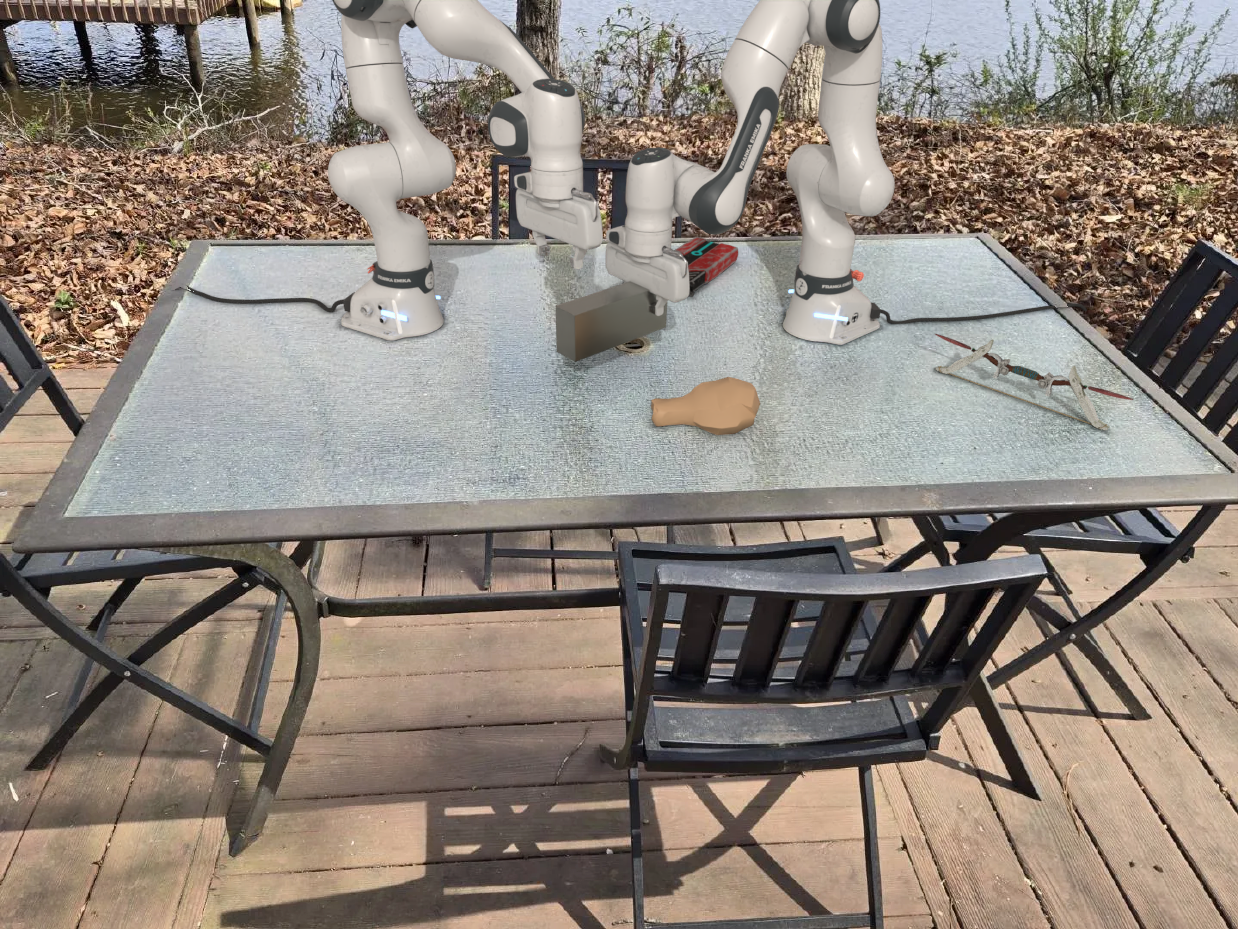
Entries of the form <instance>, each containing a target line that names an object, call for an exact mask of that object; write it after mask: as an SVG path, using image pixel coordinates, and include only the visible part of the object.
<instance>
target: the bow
mask: <svg viewBox="0 0 1238 929" xmlns="http://www.w3.org/2000/svg"><path fill="white" fill-rule="evenodd" d="M934 336H937V337H938V338H940V339H942V340H943V341H946V342H948V343H950V344H953V345H955V346H957V347H960V348H963V349H966V350H970V351H971V352H972V354H970V355H966V356H963V357H962V358H960V359H958V360H956V361H954V362H953V363H952V364H951V365H949V366H942V365H938V366H937V367H935V370H936V371H937V372H939V373H941V374H945V375H946V374H947V375H950V376H953V377H956V378H958V379H962V380H964V381H967V382H970V383H973V384H975V385H979V386H981V387H984V388H987V389H990V390H992V391H996V392H998V393H1000V394H1003V395H1007V396H1010V397H1013V398H1015V399H1018V400H1021V401H1023V402H1026V403H1028V404H1032V405H1035V406H1037V407H1040V408H1044V409H1047V410H1049V411H1052V412H1054V413H1057V414H1060V415H1063V416H1066V417H1069V418H1070V419H1071V418H1072V419H1075V420H1077V421H1080V422H1083V423H1086V424H1089V425H1092V426H1093V427H1095V428H1097V429H1098V430H1101V431H1102V430H1103V431H1108V430H1109V429H1110V428H1111V427H1110V425H1108V424H1107V423H1105V422H1104V421H1102V420H1101V419H1099V418H1098V414H1097V410H1096V408H1095V406H1094V404H1093V403H1092V401H1091V398H1089V396H1087V394H1086V392H1085V390H1087V389H1088V390H1090V391H1092V392H1095V393H1098V394H1102V395H1105V396H1107V397H1108V396H1109V397H1112V398H1117V399H1122V400H1127V401H1128V400H1129V401H1134V399H1135V398H1132V397H1130V396H1126V395H1123V394H1120V393H1118V392H1114V391H1112V390H1111V391H1110V390H1107V389H1104V388H1099V387H1096V386H1091V385H1089V386H1088V385H1087V384H1083V382H1082V378H1081V377H1080V375H1079V373H1078V370H1077V367H1076V365H1073V366H1072V367H1071V368H1070V371H1069V374H1068V378H1067V377H1066V376H1064V375H1062V374H1061V375H1060V374H1059V375H1054V374H1053V373H1052V372H1050V371H1049V372H1047V373H1046V374H1045V375H1041V374H1040V373H1039V372H1038V371H1036V370H1034V369H1031V368H1027V367H1025V366H1022V365H1012V364H1010V363H1011V359H1010V358H1008V359H1007V358H1004V359H1003V357H1001V356H1000V355H999V354H997V353H994V352H990V350H992V348H993V346H994V343H995V342H994V341H995V340H994V339H990V340H989V342H987V343H986V344H984V345H981V346H980V347H979V348H977V349H976V348H974V347H971V346H970V345H967V344H965V343H963V342H962V341H959V340H956V339H953V338H950V337H947V336H945V335H943V334H939V333H934ZM982 359H986V360H988V361H989V363H990V364H992V365H994V366H995V367H996V370H995V371H994V372H993V375H992V378H994V379H996V380H997V379H998V378H999V376H1000V375H1002V376H1007V375H1008V374H1009V373H1013V374H1015V375H1018V376H1021V377H1024V378H1027V379H1029V380H1032V381H1037V386H1038V388H1040V389H1046V390H1045V391H1044V392H1045V394H1044V396H1046V397H1051V395H1052V391H1053V387H1054V386H1055V387H1062V386H1063V387H1065V386H1068V387H1069V388H1070V389H1071V391H1072V392H1073V394H1074V395H1075V397H1076V399H1077V401H1078V403H1079V405H1080V408H1081V409H1082V411H1083V413H1084V415H1085V417H1086V418H1087V420H1088V421H1089V422H1088V421H1086V420H1083V419H1081V418H1078V417H1075V416H1071V415H1069V414H1066V413H1063V412H1060V411H1057V410H1055V409H1052V408H1049V407H1046V406H1043V405H1041V404H1037V403H1035V402H1032V401H1029V400H1026V399H1023V398H1020V397H1017V396H1015V395H1013V394H1009V393H1007V392H1005V391H1001V390H998V389H995V388H993V387H990V386H987V385H984V384H981V383H979V382H977V381H976V382H975V381H973V380H970V379H967V378H964V377H961V376H958V375H956V374H953V373H955V372H956V371H958V372H959V371H960V370H962V369H963V368H965V367H967V366H969V365H971V364H973V363H975V362H977V361H980V360H982Z"/></svg>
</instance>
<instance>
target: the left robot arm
mask: <svg viewBox="0 0 1238 929" xmlns="http://www.w3.org/2000/svg"><path fill="white" fill-rule="evenodd" d="M331 1H332V3H333V5H334V7H335V9H336V10H337V12H338V13H340V14H341V19H340V20H341V21H340V26H341V28H340V29H341V30H340V31H341V32H340V34H341V46H342V47H341V48H342V55H343V64H344V68H345V74H346V78H347V85H348V89H349V94H350V99H351V105H352V108H353V110H354V111H355V113H356V114H357V115H358V116H359V117H360V118H361V119H363V120H365V121H366V122H368V123H371V124H373V125H375V126H378V127H381V128H382V129H383V130H384V131H385V133H386V135H387V137H388V141H387V142H379V143H370V144H361V145H355V146H352V147H347V148H345V149H342V150H339V151H336V152H335V153H333V155H332V156H331V157H330V160H329V163H328V167H327V178H328V182H329V185H330V188H331V189H332V192H334V194H335V195H336V196H337V197H338V198H339V199H340V200H341V201H342V202H344V203H346V204H348V205H350V206H351V207H353V208H354V209H355V210H356V211H358V212H359V213H360V214H361V216H362V217H363V218H364V220H365V221H366V222H367V224H368V226H369V228H370V231H371V235H372V238H373V239H372V240H373V243H374V248H375V253H376V254H375V255H376V261H374V262H373V263H372V265H371V266H369V267H368V268H367V274H370V273H372V277H371V278H370V279H369V280H367V282H365V283H364V284H363V285H362V286H360V287H359V288H358V289H356V290H355V291H353V292H352V293H351V294H349V295H348V296H347V297H345V298H343V299H338V300H336V301H334V302H333V303H332V305H331V307H328V306H327V305H325V303H323V301H321V300H318V299H316V298H311V297H282V298H281V297H280V298H260V299H259V298H258V299H239V298H237V299H236V298H224V297H218V296H214V295H211V294H208V293H205V292H203V291H200V290H197V289H195V288H192V287H190V286H188V285H186V286H187V287H188V289H190V290H191V291H189V290H186V292H189V293H191V294H193V295H196V296H199V297H202V298H204V299H206V300H209V301H212V302H218V303H222V304H223V303H224V304H233V305H234V304H236V305H245V304H246V305H259V304H261V305H262V304H283V303H284V304H285V303H286V304H287V303H311V304H315V305H317V306H318V307H319V308H321V309H322V310H323V311H325V312H327V313H333V312H335V311H336V310H337V307H338V306H340V305H343V309H344V310H343V311H344V312H346V313H344V314H343V316H342V317H341V320H340V324H341V326H342V327H344V328H347V329H350V330H354V331H357V332H360V333H364V334H367V335H370V336H373V337H377V338H380V339H383V340H387V341H396V340H397V341H398V340H401V339H404V338H412V337H420V336H423V335H427V334H430V333H431V334H432V333H434V332H436V331H437V330H439V329H441V327H442V326H443V325H444V323H445V320H444V317H443V314H442V312H441V310H440V307H439V303H438V300H441V295H436V291H435V271H434V264H433V260H432V259H431V253H430V243H429V232H428V229H427V226H426V225H425V223H424V222H423V221H422V220H421V219H420V218H419V217H417V216H415V215H414V214H413V215H412V214H410V213H408V212H404V211H401V210H399V209H398V205H397V201H399V200H402V199H411V198H416V197H417V198H418V197H424V196H431V195H433V194H437V193H439V192H442V191H444V190H447V189H449V188H450V187H452V185H453V183H454V181H455V179H456V175H457V163H456V159H455V156H454V154H453V152H452V150H451V149H450V147H449V146H448V145H447V144H446V143H444V142H443V141H442V140H440V139H439V138H437V137H436V136H434V135H433V134H432V133H431V132H430V131H429V130H428V129H427V128H426V126H424V124H423V123H422V120H420V119H419V117H418V114H417V112H416V111H415V108H414V106H413V103H412V99H411V95H410V90H409V87H408V82H407V77H406V72H405V71H406V70H405V67H404V60H403V55H402V50H401V45H400V32H401V30H402V28H403V27H404V25H406V26H407V27H408V28H410V29H415V28H418V30H419V32H420V33H421V35H422V36H423V38H424V39H425V41H426V42H427V43H428V44H429V45H430V46H431V47H432V48H434V49H435V51H436V52H438V53H439V54H440V55H442V56H445V57H447V58H451V59H454V60H459V61H468V62H473V63H477V64H482V65H486V66H489V67H492V68H495V69H497V70H499V71H500V72H502V73H503V74H505V76H507V77H508V78H509V80H511V82H512V83H513V84H514V85H515V87H516V88H517V89H518V90H519V92H520V93H518V94H515V95H513V96H509V97H506V98H504V99H500V100H498V101H496V102H495V103H494V104H493V105H492V107H491V108H490V111H489V115H488V118H487V129H488V130H487V131H488V136H489V138H490V141H491V143H492V145H493V146H494V148H495V150H497V152H499V153H500V154H501V155H502V156H505V157H509V158H510V157H511V158H521V157H529V159H530V171H528V172H523V173H519V174H516V175H514V177H513V182H514V187H515V188H516V192H515V209H516V218H517V221H518V223H519V225H520V227H523V228H525V229H528V230H531V231H532V237H533V239H534V242H535V244H536V247H537V248H536V249H537V255H539V256H541V257H544V258H545V257H549V256H550V255H551V251H550V250H551V246H550V245H549V244H548V242H547V239H546V236H547V237H550V238H553V239H555V240H557V241H561V242H563V243H566V244H569V245H571V246H572V250H573V252H574V255H573V257H570V258H569V263H570V264H569V266H570V268H572V269H574V270H577V271H578V270H581V269H583V268H584V258H585V256H586V254H587V252H588V251H589V250H594V249H597V248H599V247H601V245H602V243H603V241H604V236H603V235H604V234H603V222H602V214H601V209H600V207H599V203H598V201H597V200H596V199H595V197H594V195H593V194H592V193H590V192H588V191H584V162H583V159H582V154H581V146H582V142H583V135H584V134H583V133H584V132H585V126H586V115H585V111H584V108H583V106H582V103H581V102H580V97H579V94H578V91H577V89H576V87H575V86H574V85H572V84H570V83H569V82H567V81H565V80H561V79H556V78H555V77H554V76H553V75H552V74H551V73H550V71H549V70H548V69H547V68H546V67H545V66H544V64H543V63H542V62H541V61H540V59H539V58H537V56H536V55H535V54H534V52H532V50H531V49H530V48H529V47H528V45H527V44H526V43H525V42H524V41H523V40H522V39H521V37H520V36H519V35H518V34H517V33H516V32H515V31H514V30H513V29H512V28H511V27H510V26H508V25H507V24H506V23H505V22H503V21H502V20H500V19H499V18H498V17H496V16H495V15H494V14H492V12H490V11H489V9H487V8H486V7H485V6H484V5H483V4H482V3H481V2H480V1H479V0H331ZM193 291H194V292H193Z"/></svg>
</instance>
